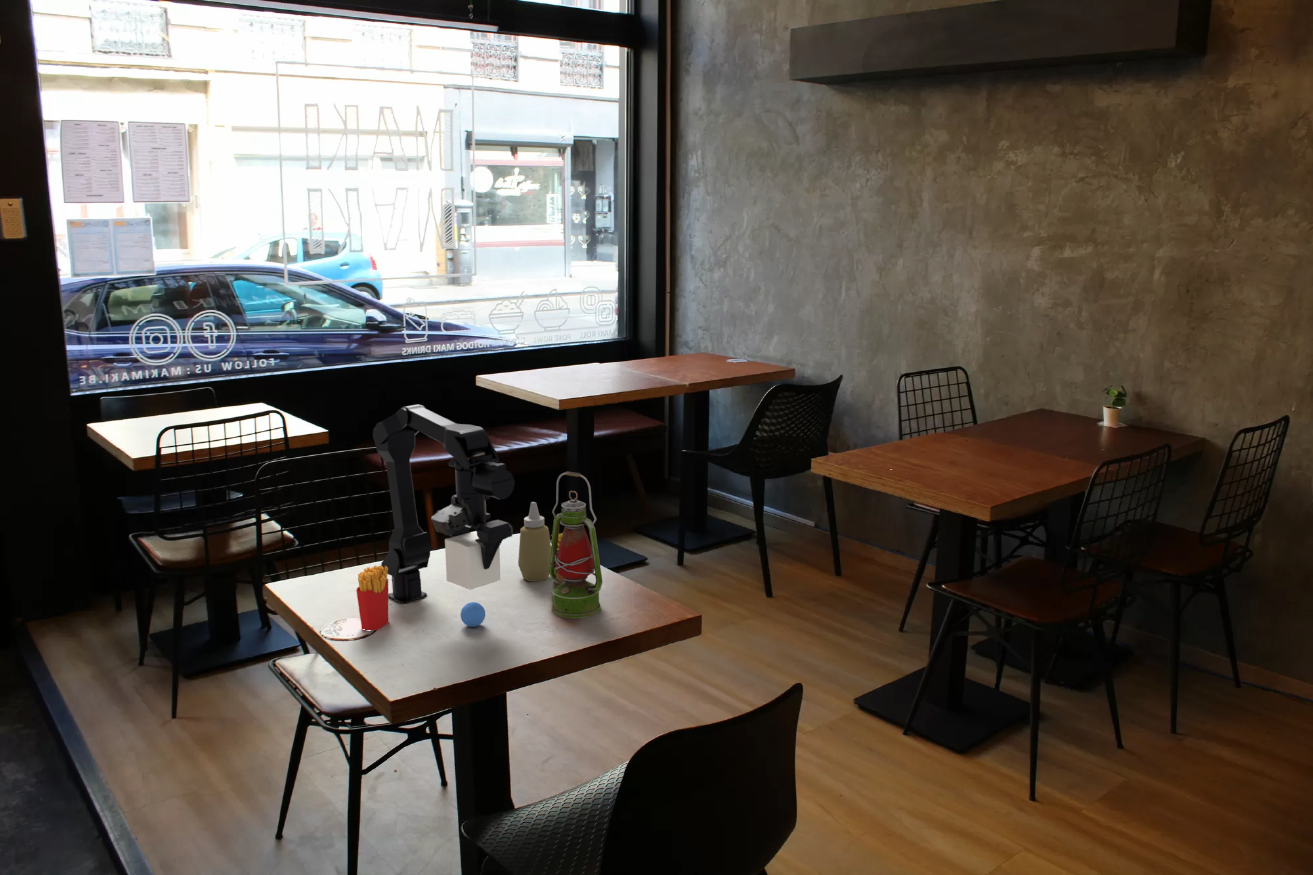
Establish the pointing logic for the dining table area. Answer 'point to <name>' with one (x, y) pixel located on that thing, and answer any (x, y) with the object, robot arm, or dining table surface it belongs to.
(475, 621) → the ball
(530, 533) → the squeeze bottle
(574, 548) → the lantern
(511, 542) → the dining table surface
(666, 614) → the dining table surface
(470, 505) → the robot arm
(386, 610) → the french fries
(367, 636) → the dining table surface
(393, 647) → the dining table surface
